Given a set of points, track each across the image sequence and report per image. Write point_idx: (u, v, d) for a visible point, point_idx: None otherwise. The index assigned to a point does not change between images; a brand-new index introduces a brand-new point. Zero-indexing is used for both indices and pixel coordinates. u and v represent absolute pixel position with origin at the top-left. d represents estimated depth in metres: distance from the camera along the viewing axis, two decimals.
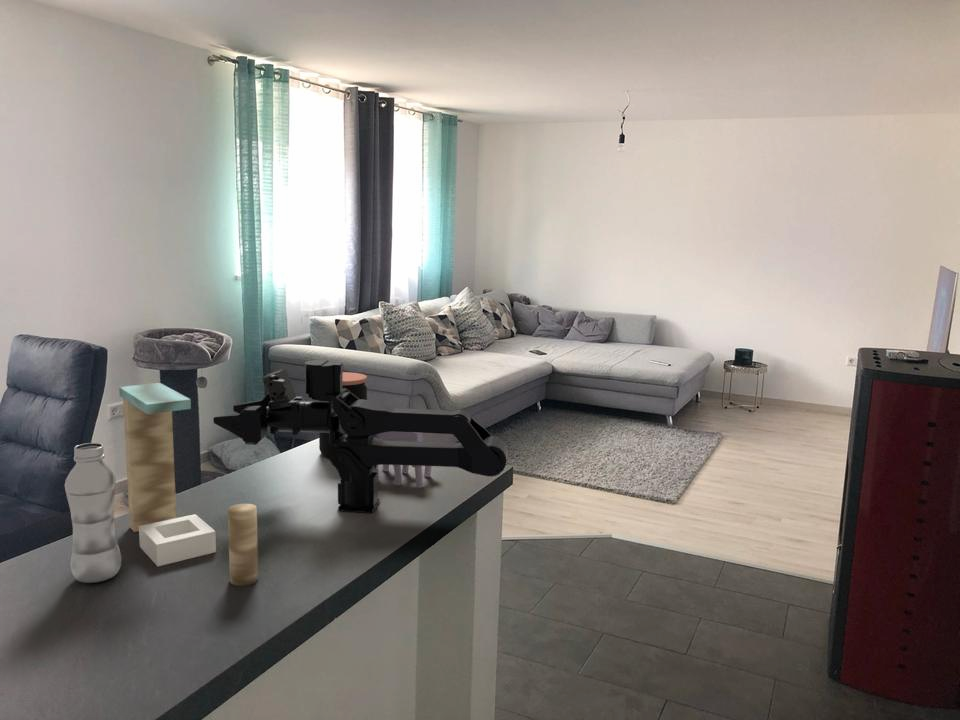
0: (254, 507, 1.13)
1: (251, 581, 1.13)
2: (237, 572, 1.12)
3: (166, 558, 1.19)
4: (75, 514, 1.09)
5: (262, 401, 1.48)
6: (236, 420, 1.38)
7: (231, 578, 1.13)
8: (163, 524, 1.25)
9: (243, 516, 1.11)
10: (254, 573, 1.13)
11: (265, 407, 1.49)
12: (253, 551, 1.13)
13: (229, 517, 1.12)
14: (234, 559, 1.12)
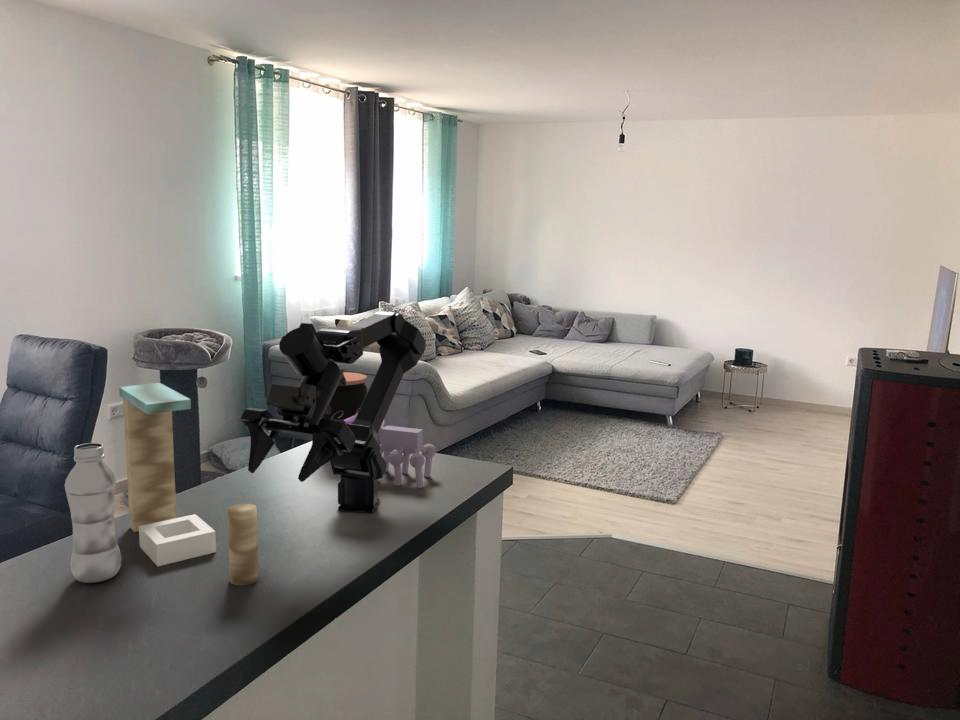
0: (254, 507, 1.13)
1: (251, 581, 1.13)
2: (237, 572, 1.12)
3: (166, 558, 1.19)
4: (75, 514, 1.09)
5: (259, 436, 1.23)
6: (317, 453, 1.20)
7: (231, 578, 1.13)
8: (163, 524, 1.25)
9: (243, 516, 1.11)
10: (254, 573, 1.13)
11: (264, 437, 1.24)
12: (253, 551, 1.13)
13: (228, 517, 1.12)
14: (234, 559, 1.12)
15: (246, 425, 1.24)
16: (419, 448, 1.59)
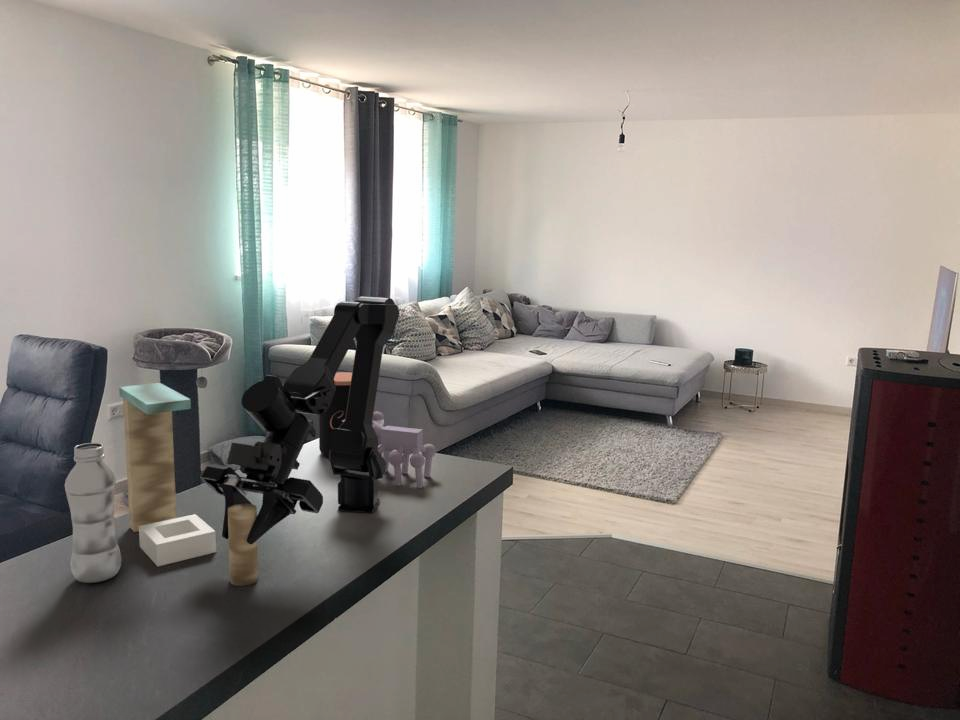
0: (254, 507, 1.13)
1: (251, 581, 1.13)
2: (237, 572, 1.12)
3: (166, 558, 1.19)
4: (75, 514, 1.09)
5: (234, 498, 1.15)
6: (268, 513, 1.13)
7: (231, 578, 1.13)
8: (163, 524, 1.25)
9: (243, 516, 1.11)
10: (253, 573, 1.13)
11: (239, 499, 1.16)
12: (253, 550, 1.13)
13: (228, 517, 1.12)
14: (234, 559, 1.12)
15: (220, 486, 1.15)
16: (419, 448, 1.59)
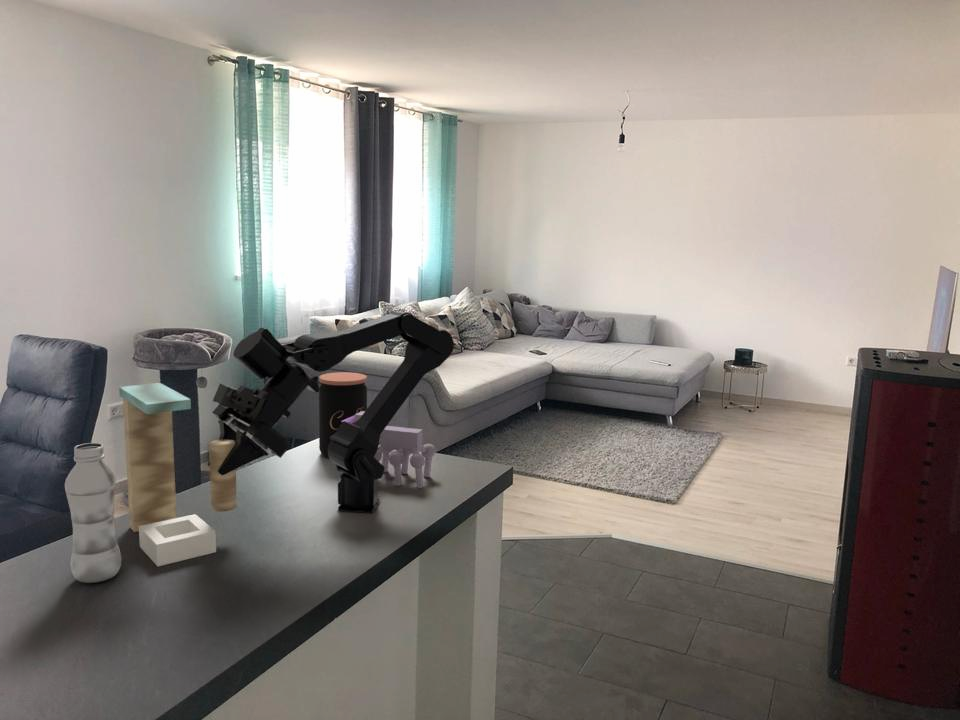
0: (231, 443, 1.26)
1: (224, 509, 1.26)
2: (213, 498, 1.26)
3: (166, 558, 1.19)
4: (75, 514, 1.09)
5: (225, 434, 1.29)
6: (240, 451, 1.25)
7: (211, 503, 1.28)
8: (163, 524, 1.25)
9: (216, 449, 1.25)
10: (226, 502, 1.26)
11: (232, 436, 1.30)
12: (226, 482, 1.26)
13: (209, 448, 1.26)
14: (211, 486, 1.26)
15: (218, 422, 1.31)
16: (419, 448, 1.59)
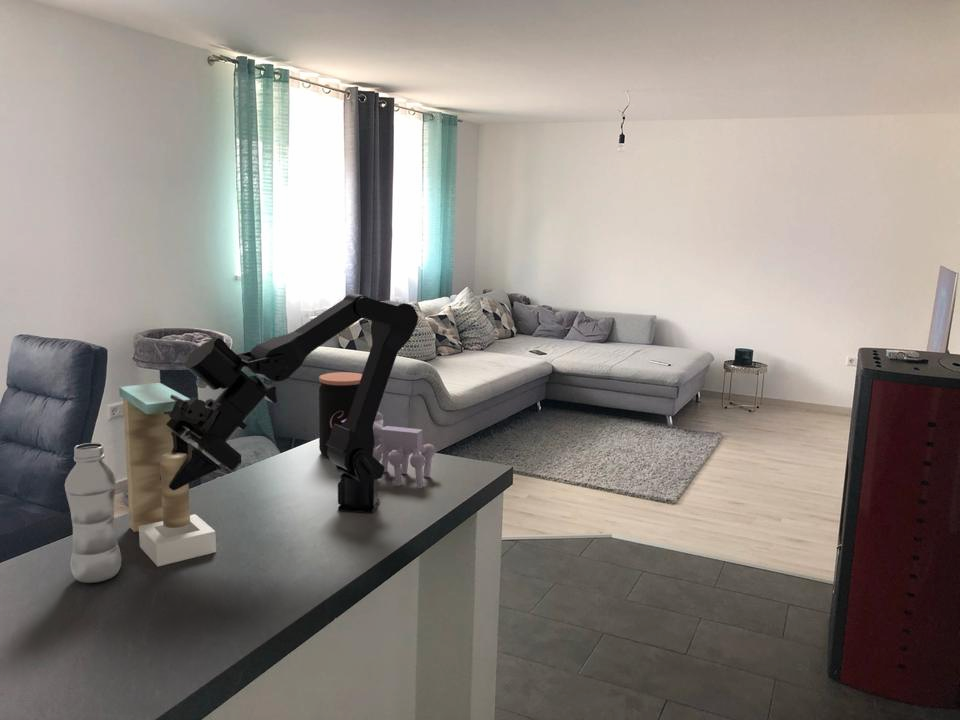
0: (183, 457, 1.21)
1: (176, 525, 1.22)
2: (164, 514, 1.22)
3: (166, 558, 1.19)
4: (75, 514, 1.09)
5: (178, 447, 1.25)
6: (192, 465, 1.20)
7: (163, 519, 1.23)
8: None
9: (167, 463, 1.20)
10: (179, 518, 1.22)
11: (186, 449, 1.25)
12: (178, 497, 1.21)
13: None
14: (162, 501, 1.22)
15: (172, 435, 1.26)
16: (419, 448, 1.59)
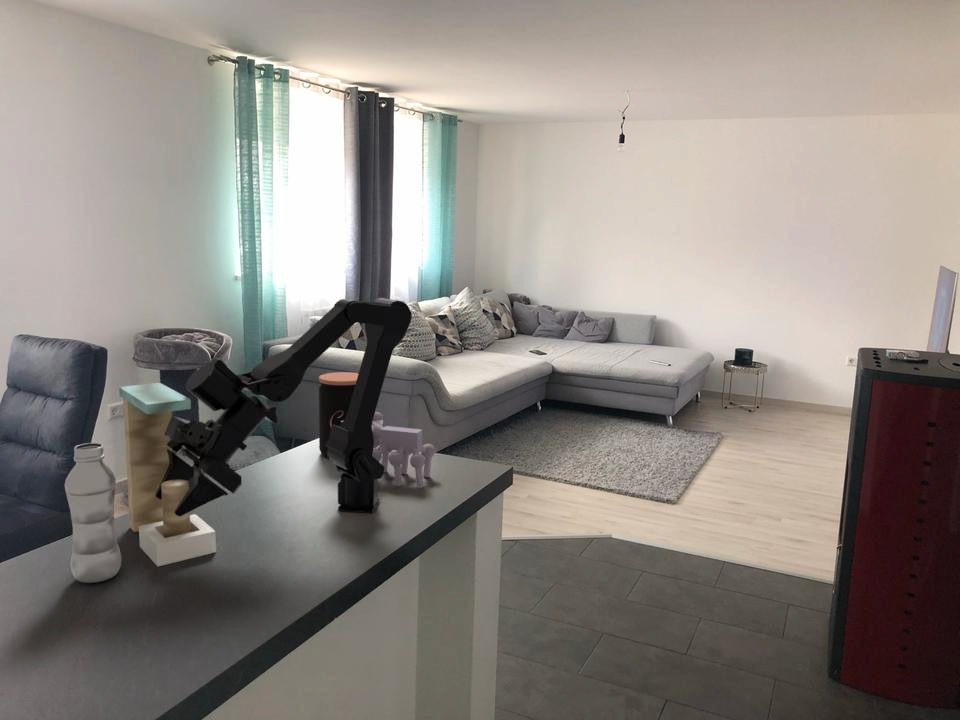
0: (184, 484, 1.22)
1: None
2: None
3: (166, 558, 1.19)
4: (75, 514, 1.09)
5: (174, 464, 1.27)
6: (198, 490, 1.19)
7: None
8: None
9: (168, 491, 1.21)
10: None
11: (181, 466, 1.28)
12: (179, 524, 1.22)
13: None
14: (163, 528, 1.22)
15: (167, 452, 1.28)
16: (419, 448, 1.59)
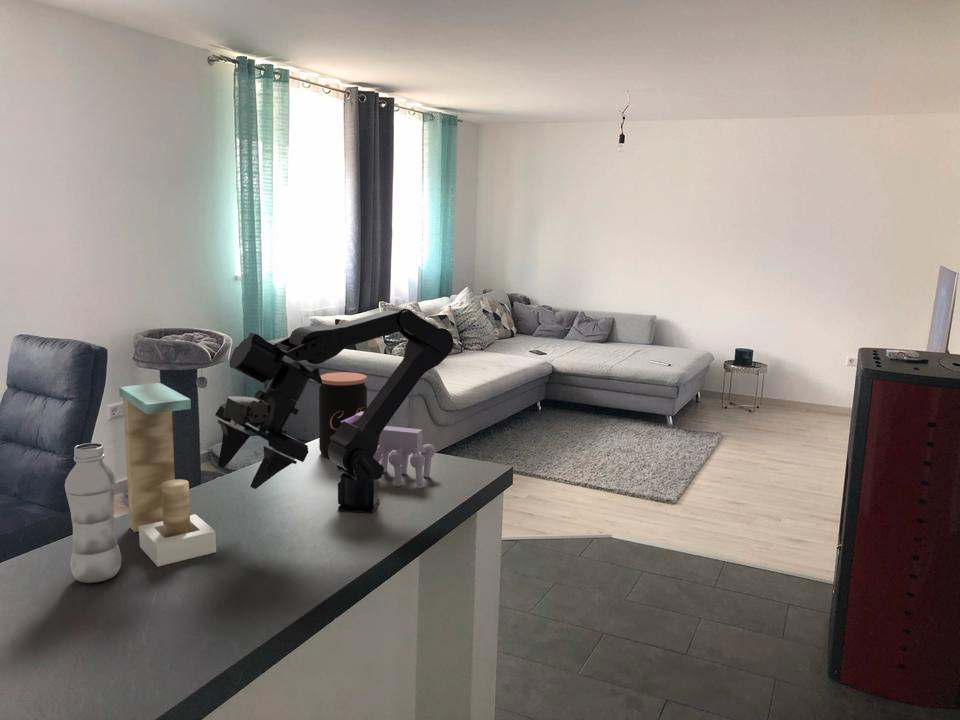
0: (184, 484, 1.22)
1: None
2: None
3: (166, 558, 1.19)
4: (75, 514, 1.09)
5: (229, 435, 1.33)
6: (269, 464, 1.27)
7: None
8: None
9: (168, 491, 1.21)
10: None
11: (235, 434, 1.34)
12: (179, 524, 1.22)
13: None
14: (163, 528, 1.22)
15: (219, 423, 1.33)
16: (419, 448, 1.59)
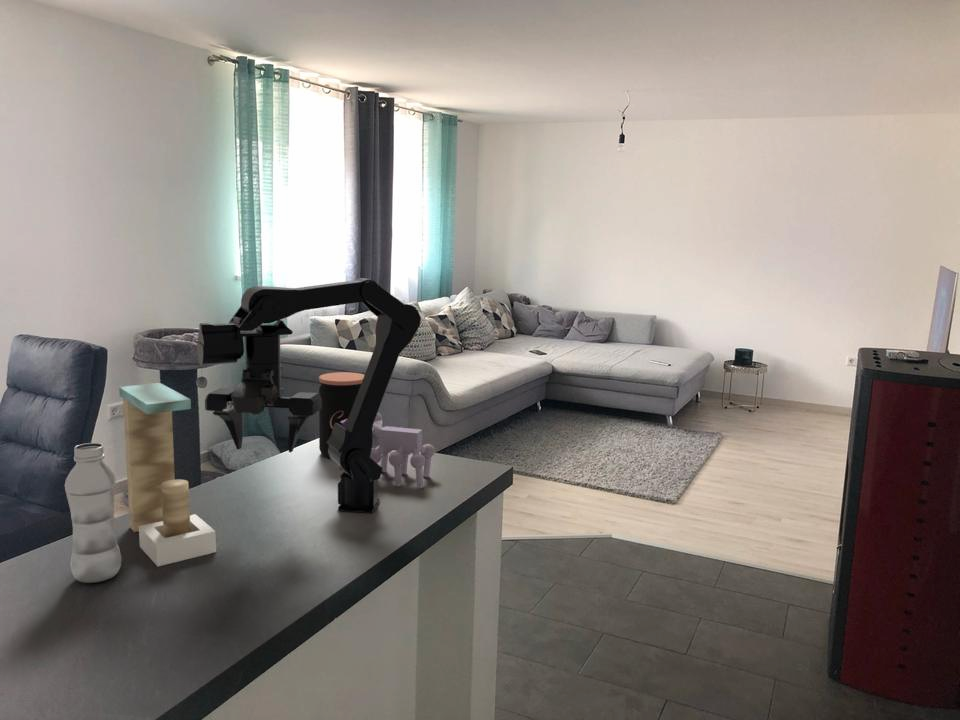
0: (184, 484, 1.22)
1: None
2: None
3: (166, 558, 1.19)
4: (75, 514, 1.09)
5: (233, 419, 1.33)
6: None
7: None
8: None
9: (168, 491, 1.21)
10: None
11: (235, 414, 1.34)
12: (179, 524, 1.22)
13: (161, 489, 1.22)
14: (163, 528, 1.22)
15: None
16: (419, 448, 1.59)
